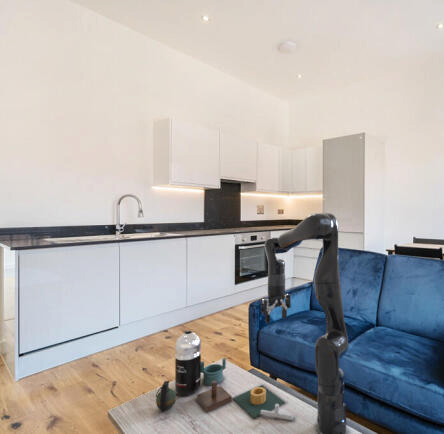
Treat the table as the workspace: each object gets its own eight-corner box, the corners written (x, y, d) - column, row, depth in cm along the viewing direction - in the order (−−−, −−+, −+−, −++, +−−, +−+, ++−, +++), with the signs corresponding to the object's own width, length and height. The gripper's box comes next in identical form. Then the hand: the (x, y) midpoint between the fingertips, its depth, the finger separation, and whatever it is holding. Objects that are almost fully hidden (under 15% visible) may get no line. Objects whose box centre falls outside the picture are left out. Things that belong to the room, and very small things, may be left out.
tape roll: (268, 400, 121) (268, 391, 121) (255, 406, 117) (255, 397, 117) (260, 393, 126) (260, 385, 126) (247, 399, 122) (247, 390, 122)
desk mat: (284, 403, 120) (284, 402, 120) (254, 419, 111) (254, 418, 111) (262, 385, 132) (262, 384, 132) (232, 398, 123) (232, 397, 123)
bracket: (198, 382, 134) (198, 362, 134) (214, 372, 142) (214, 353, 142) (212, 388, 130) (212, 367, 130) (228, 378, 138) (228, 358, 137)
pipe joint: (260, 415, 112) (260, 403, 112) (261, 412, 114) (262, 400, 114) (291, 421, 110) (292, 409, 110) (292, 418, 111) (293, 406, 111)
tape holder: (231, 401, 121) (231, 382, 121) (207, 412, 114) (207, 392, 114) (220, 390, 128) (220, 372, 128) (196, 399, 122) (196, 381, 122)
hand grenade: (159, 403, 119) (159, 378, 119) (178, 402, 120) (178, 376, 120) (152, 417, 111) (152, 389, 111) (172, 415, 112) (172, 388, 112)
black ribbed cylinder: (191, 398, 122) (192, 336, 122) (169, 395, 124) (169, 334, 124) (205, 384, 132) (206, 327, 132) (184, 381, 134) (184, 325, 134)
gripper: (267, 287, 125) (267, 326, 125) (294, 282, 135) (294, 319, 135) (257, 284, 130) (257, 322, 131) (284, 279, 140) (283, 314, 140)
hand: (276, 320), depth 133 cm, fingers open, 8 cm apart
